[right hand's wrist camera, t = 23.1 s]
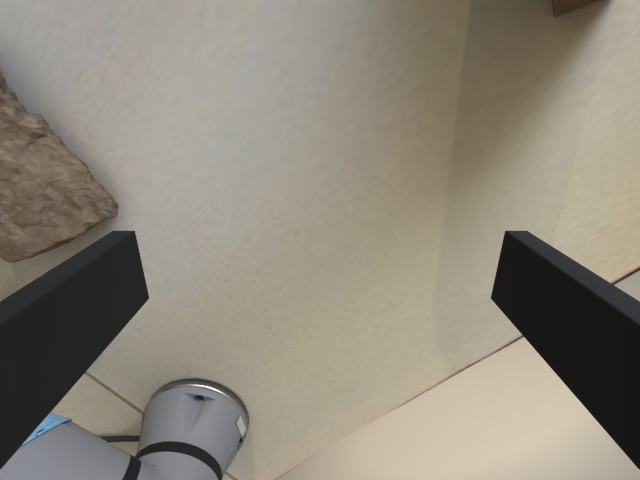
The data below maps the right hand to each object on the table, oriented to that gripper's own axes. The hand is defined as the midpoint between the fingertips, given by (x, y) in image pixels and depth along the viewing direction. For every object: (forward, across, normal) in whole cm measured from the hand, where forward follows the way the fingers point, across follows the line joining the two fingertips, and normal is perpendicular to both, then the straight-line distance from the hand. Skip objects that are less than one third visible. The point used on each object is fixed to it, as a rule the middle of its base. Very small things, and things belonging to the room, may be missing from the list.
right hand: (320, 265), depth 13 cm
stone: (+28, +33, 0) cm, 43 cm away
